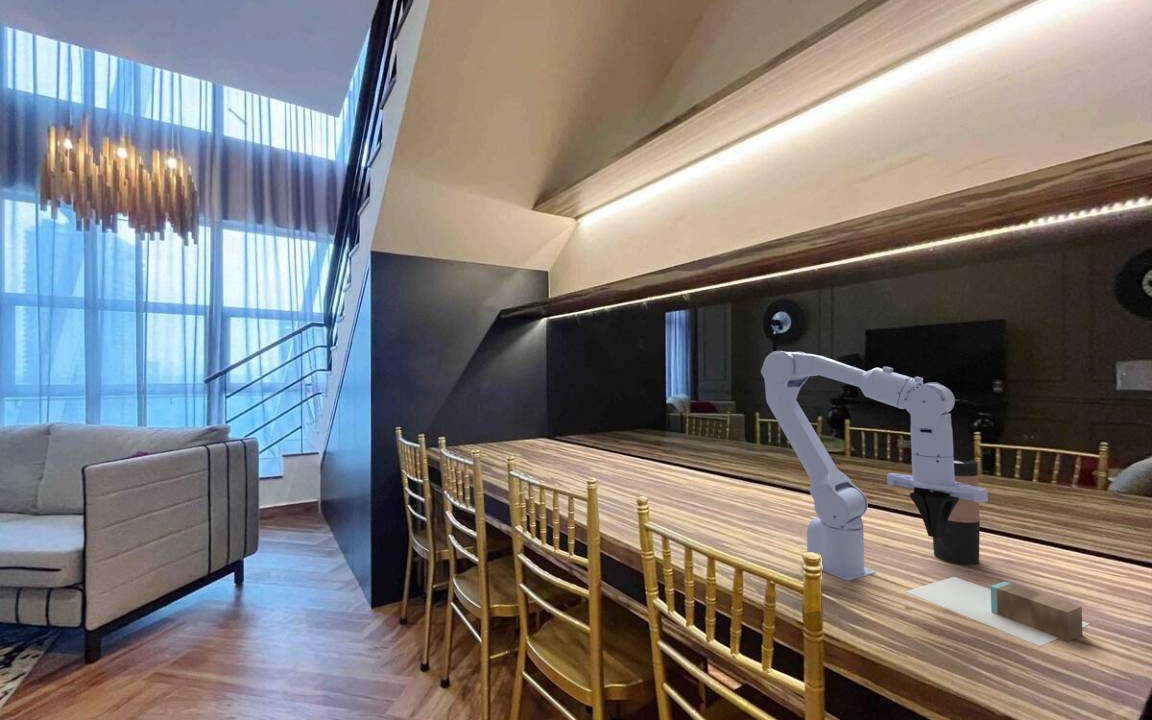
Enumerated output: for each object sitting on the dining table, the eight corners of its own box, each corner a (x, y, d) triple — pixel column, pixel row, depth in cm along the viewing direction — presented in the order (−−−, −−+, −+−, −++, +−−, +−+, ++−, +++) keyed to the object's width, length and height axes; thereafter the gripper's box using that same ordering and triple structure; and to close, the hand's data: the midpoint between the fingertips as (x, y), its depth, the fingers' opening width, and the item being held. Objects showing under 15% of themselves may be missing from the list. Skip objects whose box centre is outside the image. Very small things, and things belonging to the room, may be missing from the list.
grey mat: (905, 593, 82) (904, 591, 82) (954, 578, 88) (954, 576, 88) (1040, 649, 66) (1040, 646, 66) (1089, 626, 71) (1089, 623, 71)
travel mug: (939, 564, 94) (936, 462, 95) (927, 551, 101) (924, 455, 102) (987, 570, 92) (984, 464, 92) (971, 555, 99) (969, 457, 99)
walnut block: (990, 586, 75) (1067, 612, 67) (1004, 581, 77) (1081, 606, 69) (991, 612, 75) (1068, 641, 67) (1005, 606, 77) (1082, 634, 69)
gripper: (874, 450, 86) (877, 527, 86) (967, 463, 73) (971, 554, 72) (900, 447, 89) (903, 521, 89) (993, 459, 76) (998, 546, 75)
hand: (935, 536), depth 81 cm, fingers closed
